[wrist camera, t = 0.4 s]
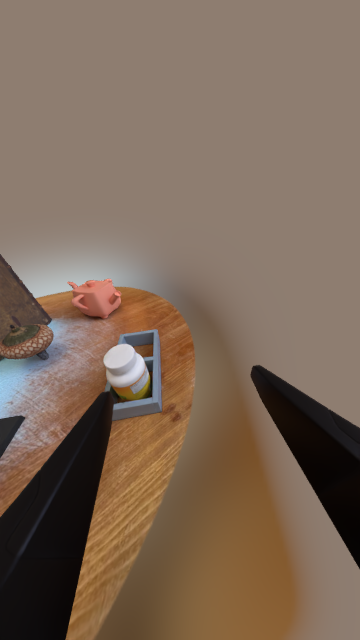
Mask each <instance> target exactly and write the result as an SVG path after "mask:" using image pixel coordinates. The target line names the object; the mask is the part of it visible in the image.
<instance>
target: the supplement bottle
mask: <svg viewBox="0 0 360 640" xmlns="http://www.w3.org/2000/svg"><path fill="white" fill-rule="evenodd" d="M103 361H104V365H105V366H106V368H107V371H106V377H107V380H108V382H109V383H110V385H111V386H112V387H113V389H114V390H115V391H116V393H117V394H118V395H119V397H120V398H121V399H122V401H123V402H129V401H135V400H141V399H147V398H149V397H150V395H151V393H152V390H153V383H152V380H151V377H150V375H149V372H148V369H147V367H146V364H145V362H144V359H143V358H142V356H141V355H139V354H138V353H136V352H135V350H134V348H133V347H132V346H131V345H129V344H120V345H117V346H115V347H113V348H111V349H110V350H109V351H108V352H107V353H106V355H105V356H104V360H103Z"/></svg>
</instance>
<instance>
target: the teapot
mask: <svg viewBox="0 0 360 640" xmlns="http://www.w3.org/2000/svg"><path fill="white" fill-rule="evenodd" d="M68 284H69V285H71V286H72V288H73V289H74V290H73V291H72V292H73V296H74V298H73V299H72V301H71V303H72V305H74V306H75V307H77V308H79V310H80V311H81V312H82V313H84V314H87V315H89V316H90V317H92V316H101V318H102V319H105V318H107V317H108V314H110V313H111V312H112V311H113V310H115V309H117V308H118V306H119V305H120V304H121V299H120V296H121V292H120V291H118V290H116V289H115V288H114V286H113V285H112V280H111V279H106V280H104V281H94V280H90V281H87V282H85V284H83V285H81V286H79V287H78V286H77V285H76V284H75V283H73V282H68Z"/></svg>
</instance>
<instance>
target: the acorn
mask: <svg viewBox="0 0 360 640" xmlns="http://www.w3.org/2000/svg"><path fill="white" fill-rule="evenodd" d="M10 328H11V329H12V330H11V332H10V333H8V334H7V336H6V337H5V338H4V339H3V340H2V341H1V342H0V355H1V356H3V357H5V358H8V359H22V358H23V359H25V358H29V357H32V356H34V355H37V356H39V357H40V358H42V359H44V360H45V359H47V358H48V357H49V356H48V354H47V353H46V351H45V349H46V348H47V347H48V346H49V345H50V344H51V342H52V340H53V331H52V330H51V329H50V328H49V327H48V326H47V325H41V324H33V325H26V326H21V327H18V328H17V327H14V326H13V325H10Z"/></svg>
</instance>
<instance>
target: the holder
mask: <svg viewBox="0 0 360 640" xmlns="http://www.w3.org/2000/svg"><path fill="white" fill-rule="evenodd" d="M120 344H129V345H131V346H132V347H133V346H139V345H146V344H153V356H151V357H145V358H143V359H144V362H145V364H146V367H147V369H148V372H151V371H153V394H152V398H147V399H141V400H135V401H129V402H124V403H118V404H117V400H118V394H117V393H116V391H115V390H114V389H113V387H112V386H111V385H110V383H109V382H108V380H107V384H106V387H105V391H110V393H111V395H112V396H113V398H114V407H113V416H112V421H113V420H120V419H125V418H131V417H136V416H142V415H147V414H153V413H158V412H162V400H161V366H160V339H159V335H158V331H157V329H156V330H149V331H142V332H135V333H129V334H121V335H120V338H119V342H118V345H120ZM105 391H104V392H105Z"/></svg>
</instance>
